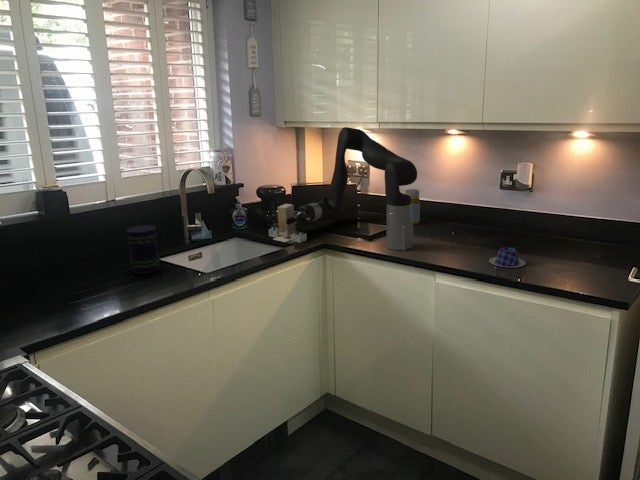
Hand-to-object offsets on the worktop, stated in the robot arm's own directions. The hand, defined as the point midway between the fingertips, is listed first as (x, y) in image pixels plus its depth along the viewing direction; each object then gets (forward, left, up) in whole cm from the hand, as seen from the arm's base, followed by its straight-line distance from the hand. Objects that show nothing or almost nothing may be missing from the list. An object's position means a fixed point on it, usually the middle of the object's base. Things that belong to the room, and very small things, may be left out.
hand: (282, 221), depth 225 cm
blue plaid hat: (-86, -23, -8) cm, 89 cm away
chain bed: (0, -3, -8) cm, 8 cm away
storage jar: (+15, +55, -8) cm, 58 cm away
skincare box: (0, -3, -6) cm, 7 cm away
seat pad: (0, -3, -8) cm, 8 cm away
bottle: (-30, -53, -8) cm, 61 cm away
